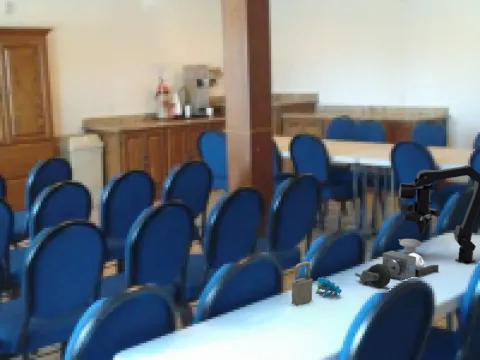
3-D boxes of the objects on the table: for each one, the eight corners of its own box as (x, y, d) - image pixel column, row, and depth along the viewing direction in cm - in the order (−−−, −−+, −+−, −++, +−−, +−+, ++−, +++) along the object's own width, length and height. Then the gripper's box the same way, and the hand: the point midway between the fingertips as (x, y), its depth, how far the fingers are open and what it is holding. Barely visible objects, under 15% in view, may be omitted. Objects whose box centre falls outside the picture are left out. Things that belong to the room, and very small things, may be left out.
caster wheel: (391, 289, 269) (358, 277, 278) (394, 266, 266) (361, 255, 276) (383, 293, 265) (351, 281, 274) (387, 269, 262) (353, 258, 272)
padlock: (290, 302, 251) (290, 263, 248) (305, 298, 256) (306, 259, 253) (298, 305, 248) (298, 265, 245) (313, 300, 253) (314, 261, 250)
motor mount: (409, 263, 299) (410, 243, 297) (438, 272, 288) (440, 251, 286) (376, 274, 284) (377, 253, 283) (405, 283, 273) (406, 261, 272)
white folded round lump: (418, 275, 283) (419, 257, 282) (401, 271, 288) (402, 254, 286) (426, 270, 290) (427, 253, 288) (409, 267, 294) (410, 249, 293)
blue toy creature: (347, 292, 257) (332, 277, 253) (339, 306, 255) (324, 290, 251) (327, 288, 266) (312, 273, 262) (320, 301, 264) (304, 286, 260)
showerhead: (396, 236, 316) (418, 236, 316) (395, 251, 317) (417, 252, 317) (400, 242, 307) (423, 242, 306) (400, 257, 308) (422, 258, 308)
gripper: (420, 193, 312) (418, 227, 314) (394, 199, 300) (393, 233, 302) (441, 197, 303) (439, 231, 306) (416, 203, 291) (414, 238, 294)
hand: (421, 233), depth 302 cm, fingers closed
